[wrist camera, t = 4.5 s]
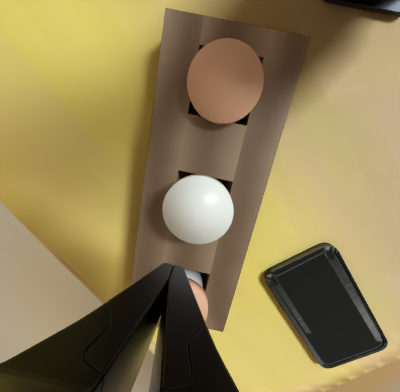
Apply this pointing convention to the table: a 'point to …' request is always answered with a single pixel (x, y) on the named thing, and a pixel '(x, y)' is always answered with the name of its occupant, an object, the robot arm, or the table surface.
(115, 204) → the table surface
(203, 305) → the knob
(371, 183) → the table surface
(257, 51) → the knob mount
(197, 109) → the knob
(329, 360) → the phone
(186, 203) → the middle knob
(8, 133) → the table surface
